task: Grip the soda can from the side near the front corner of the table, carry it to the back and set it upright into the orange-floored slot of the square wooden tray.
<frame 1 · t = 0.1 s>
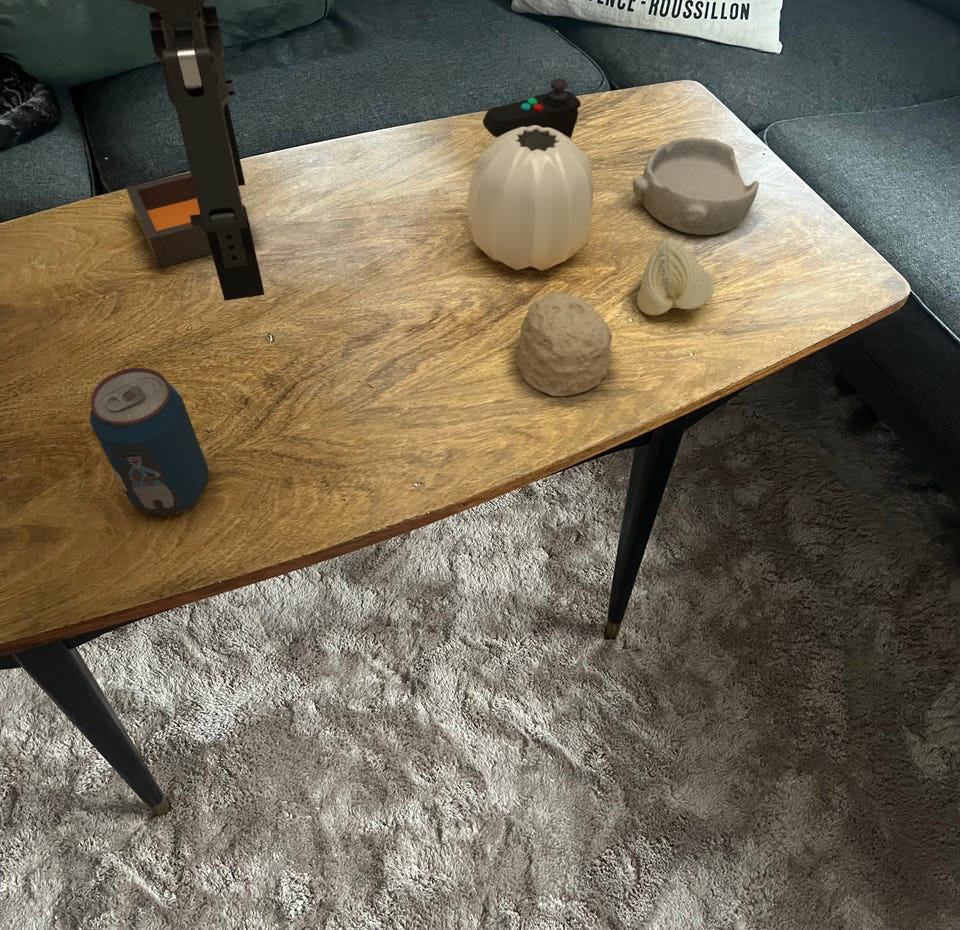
hand: (235, 236, 61), 21 cm above the table, tool pointing down, fingers open, 13 cm apart
dish: (691, 206, 101), on the table
square wooden tray: (193, 230, 95), on the table
seashell: (673, 303, 90), on the table
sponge: (562, 365, 83), on the table
vase: (527, 248, 95), on the table
soda can: (172, 490, 72), on the table
controller: (528, 166, 106), on the table
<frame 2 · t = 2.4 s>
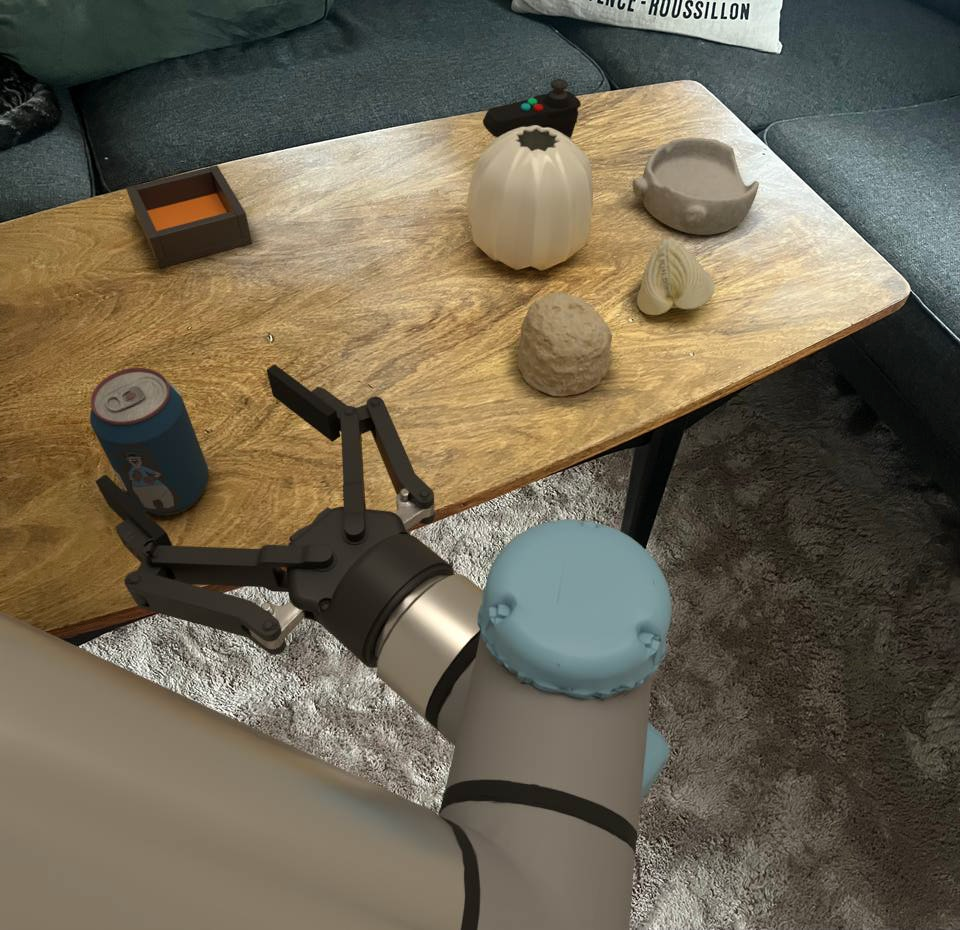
hand: (194, 431, 57), 15 cm above the table, tool horizontal, fingers open, 13 cm apart
nothing on the table moved.
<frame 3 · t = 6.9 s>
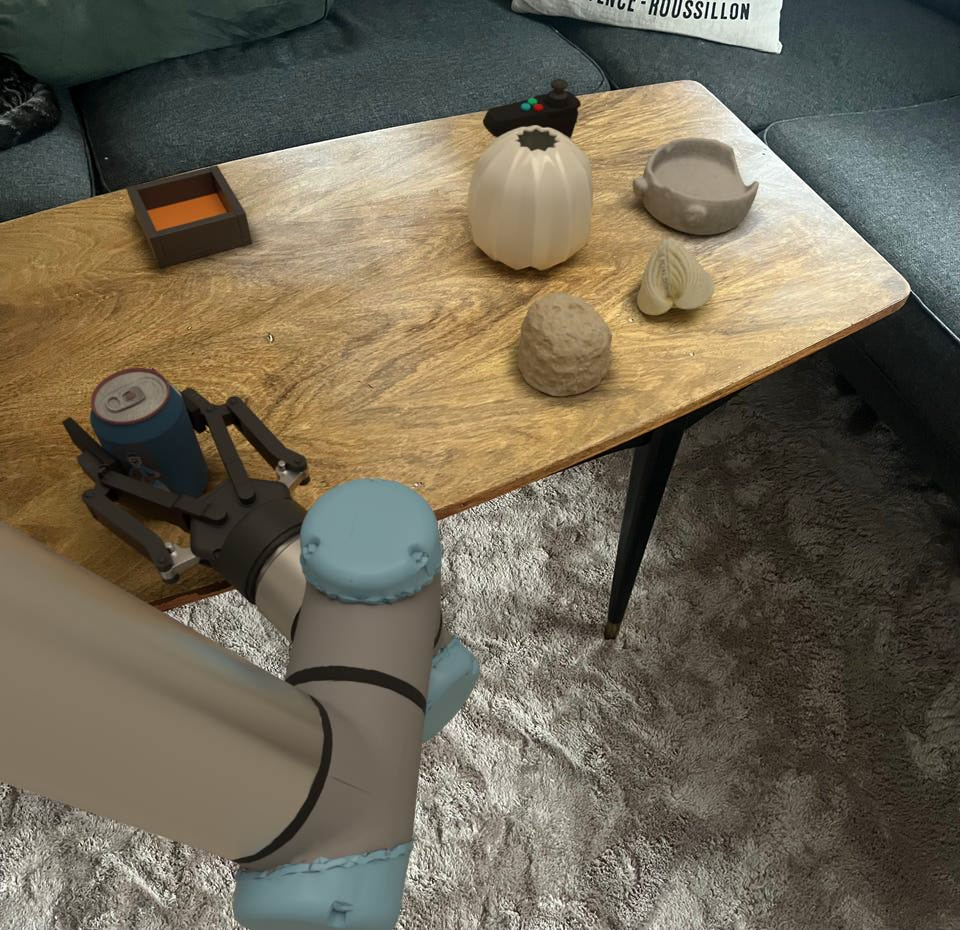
hand: (114, 405, 69), 7 cm above the table, tool horizontal, fingers closed on soda can, 7 cm apart
soda can: (172, 490, 72), on the table, touching gripper
everything else where it was.
when the fingers open (8 cm above the table, at t = 17.1 s): soda can stays where it is, resting on square wooden tray.
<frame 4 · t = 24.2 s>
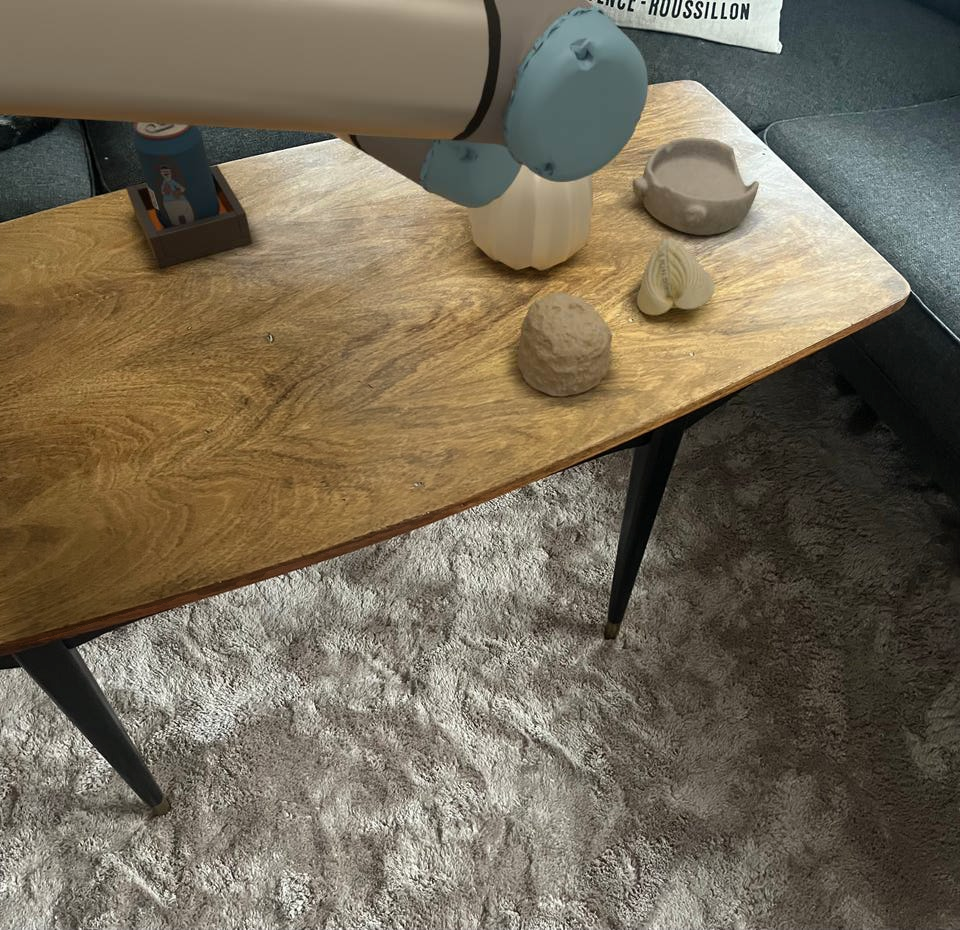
soda can: (191, 222, 94), point 1 cm above the table, touching square wooden tray
everything else where it was.
at the end: soda can 0.0 cm off-centre in the square wooden tray, point 1.0 cm above the square wooden tray's base; soda can tilted 0°; the gripper is holding nothing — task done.
